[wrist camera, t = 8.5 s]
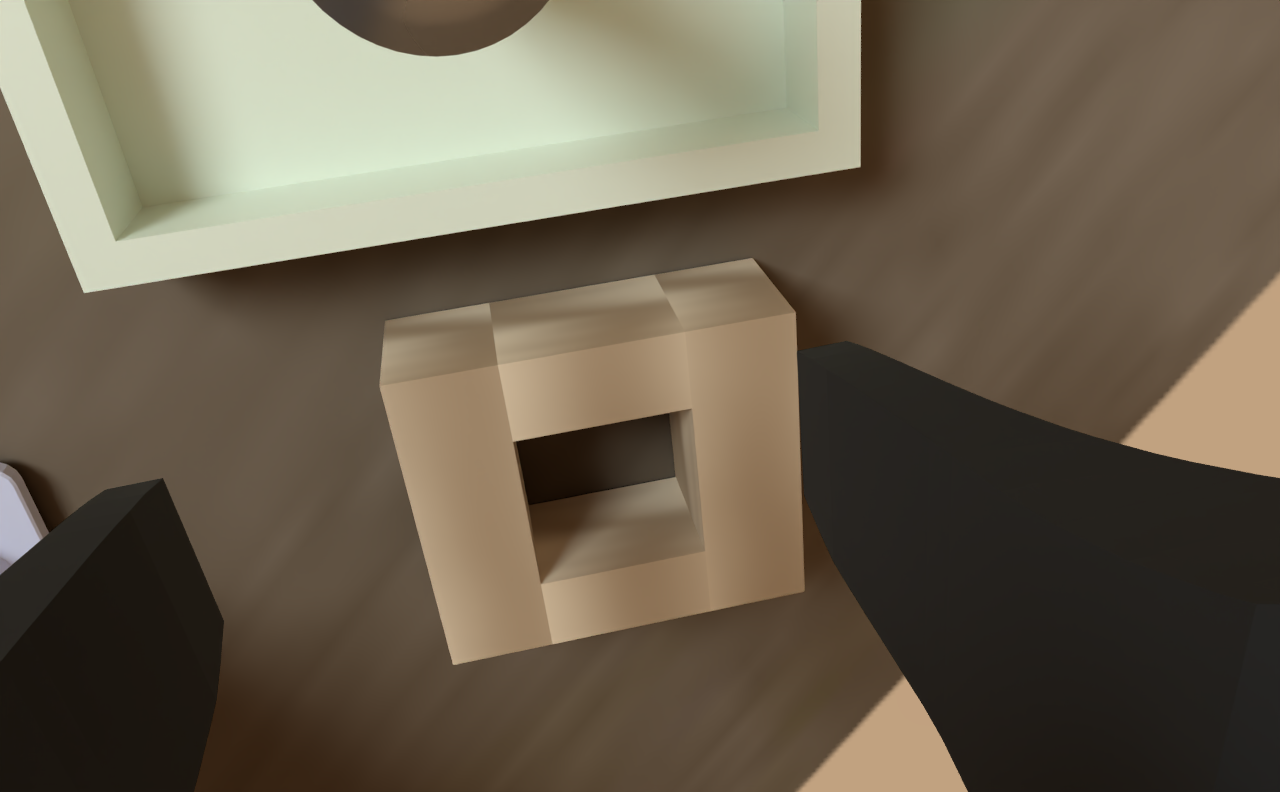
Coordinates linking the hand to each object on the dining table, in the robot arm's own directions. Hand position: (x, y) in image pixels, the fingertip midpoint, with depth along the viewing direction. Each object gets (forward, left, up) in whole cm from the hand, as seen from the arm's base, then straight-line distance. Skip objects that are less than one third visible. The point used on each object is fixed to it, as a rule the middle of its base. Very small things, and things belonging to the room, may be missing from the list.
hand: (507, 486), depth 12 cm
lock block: (+2, -6, -10) cm, 12 cm away
